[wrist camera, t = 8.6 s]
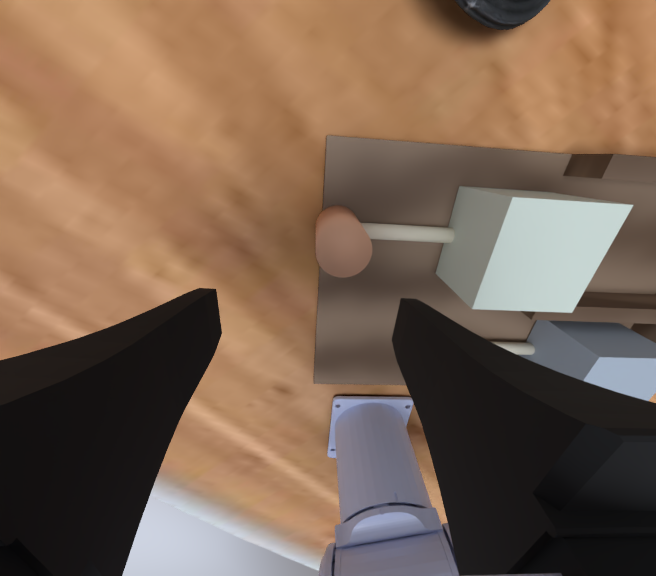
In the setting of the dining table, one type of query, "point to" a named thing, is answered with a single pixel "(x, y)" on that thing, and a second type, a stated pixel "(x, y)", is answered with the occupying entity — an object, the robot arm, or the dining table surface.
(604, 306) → the shelf
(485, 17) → the milk frother
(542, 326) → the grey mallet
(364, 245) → the sage cube mallet
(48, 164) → the dining table surface
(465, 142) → the dining table surface
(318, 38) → the dining table surface
